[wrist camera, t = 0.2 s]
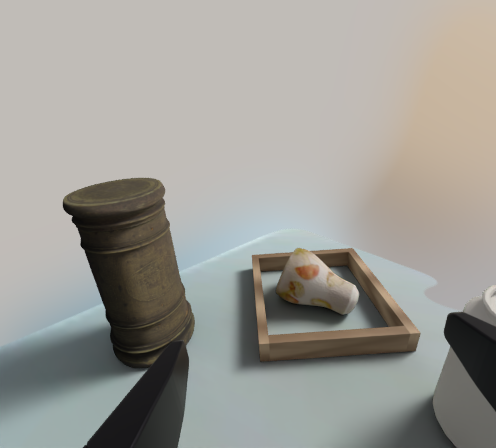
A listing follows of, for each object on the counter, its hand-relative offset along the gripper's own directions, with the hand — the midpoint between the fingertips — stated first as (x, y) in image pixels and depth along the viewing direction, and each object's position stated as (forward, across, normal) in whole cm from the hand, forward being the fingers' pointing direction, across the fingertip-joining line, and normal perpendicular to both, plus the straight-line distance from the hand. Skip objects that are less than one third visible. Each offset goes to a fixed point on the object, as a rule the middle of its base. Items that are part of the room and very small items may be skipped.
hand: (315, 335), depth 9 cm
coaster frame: (+21, -6, +16) cm, 27 cm away
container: (+17, +14, +16) cm, 27 cm away
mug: (+21, -6, +16) cm, 28 cm away
